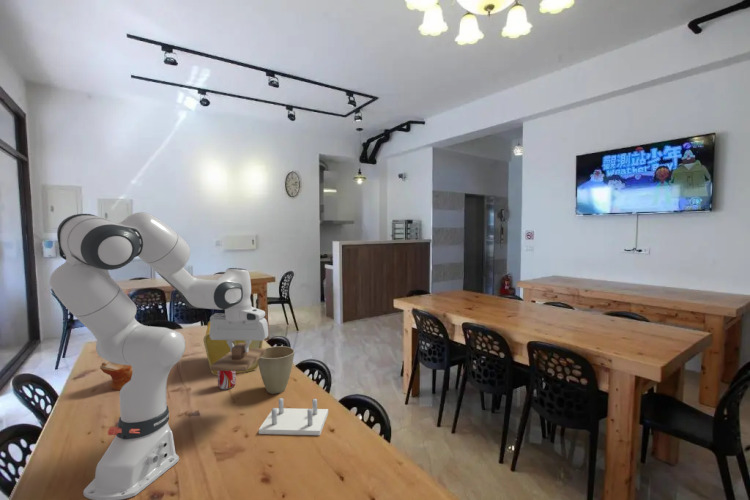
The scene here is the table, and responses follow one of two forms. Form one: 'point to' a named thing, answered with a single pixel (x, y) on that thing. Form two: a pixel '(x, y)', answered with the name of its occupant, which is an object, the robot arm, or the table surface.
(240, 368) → the shelf board
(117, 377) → the brown lumpy piece
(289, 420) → the peg stand
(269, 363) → the plant pot
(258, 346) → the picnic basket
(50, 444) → the table surface
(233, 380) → the soda can
